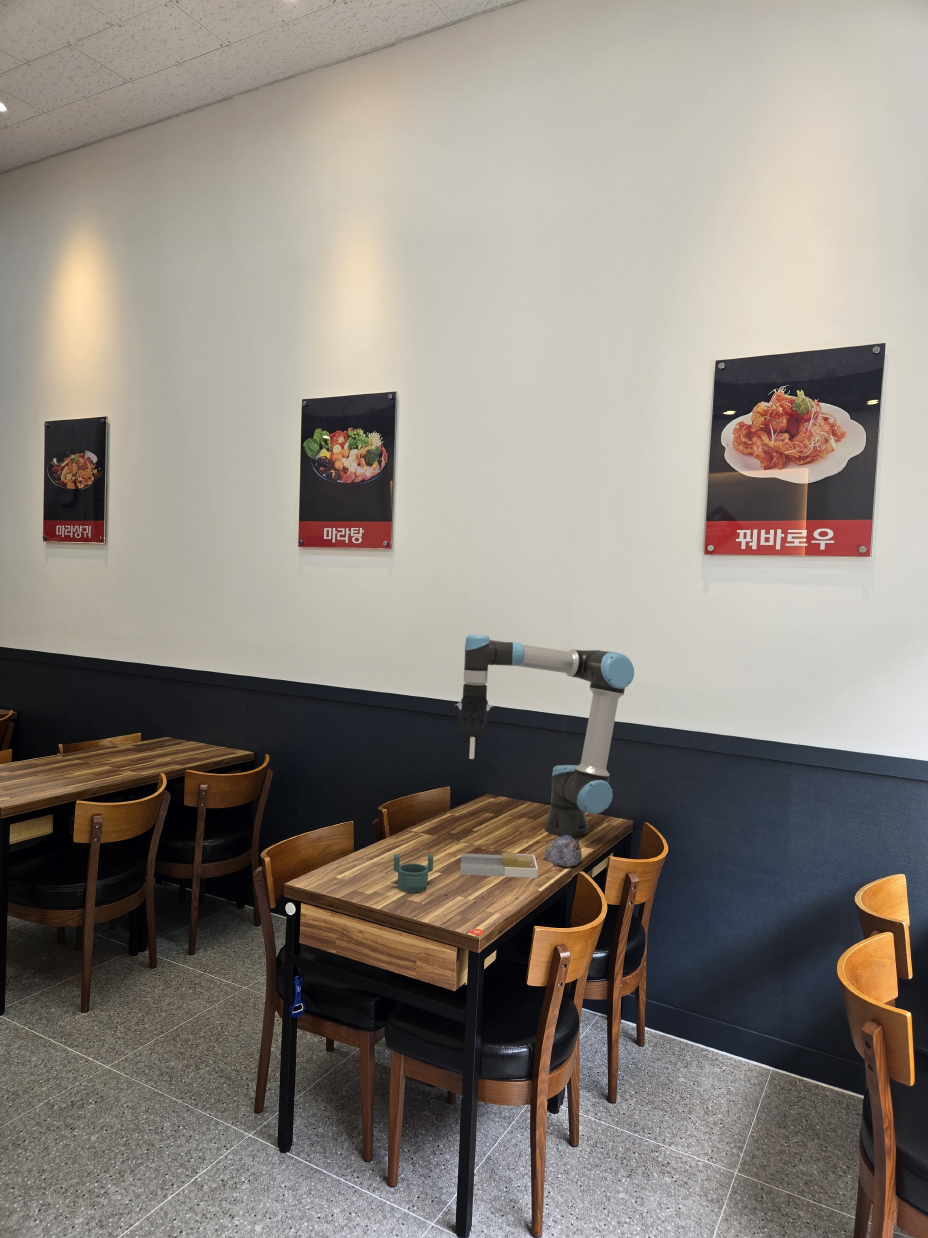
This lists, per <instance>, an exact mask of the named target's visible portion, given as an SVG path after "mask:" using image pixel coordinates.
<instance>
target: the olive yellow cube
mask: <svg viewBox="0 0 928 1238" xmlns="http://www.w3.org/2000/svg"><path fill="white" fill-rule="evenodd" d="M516 854H517V853H515V852H502V854H501V855H502V866H504V867H515V868H516V865H517V856H516Z"/></svg>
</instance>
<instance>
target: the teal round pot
mask: <svg viewBox="0 0 928 1238" xmlns="http://www.w3.org/2000/svg"><path fill="white" fill-rule="evenodd" d="M393 854H394V855H393V871H394V872H396V873H397V885H396V887H397V889H398V890H399V891H401V892H405V893H413V894H414V893H421V892H425V891H427V886H428V885H429V884H428V881H429V873H432V872H433V870H434V854H428V855H427V857H428V858H427V866H426V865H425V864H421V863H404V864H403V863H402V864H401V865H400V859H401V855H400V854H399V853H393Z"/></svg>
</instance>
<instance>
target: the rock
mask: <svg viewBox="0 0 928 1238" xmlns="http://www.w3.org/2000/svg"><path fill="white" fill-rule="evenodd" d="M582 856H583V854H582V848H581V845H580V841H579V840H578V839H576V838H575V837H574V836H573V837H572V836H571V835H563V836H560V835H557V837H555V838H554V839H553V840H551V841H550V842H549V843H548V844H547V846H546V849H545V852H544V858H545V860H546V861H547V862H548V863H551V864H552V865H553V866H555V867H559V866H562V867H574V866H577V865H578V864H580V862H581V860H582V858H583V857H582Z"/></svg>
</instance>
